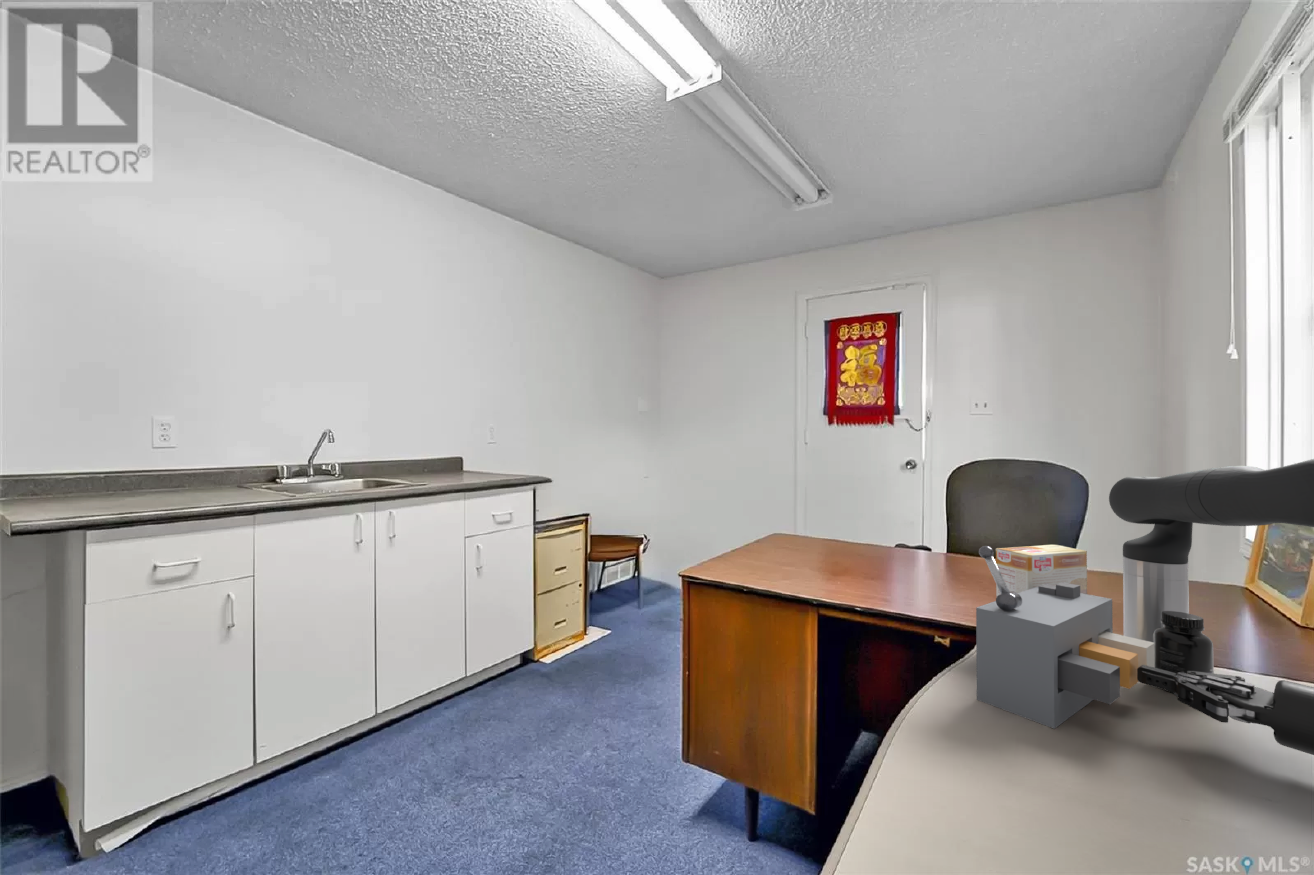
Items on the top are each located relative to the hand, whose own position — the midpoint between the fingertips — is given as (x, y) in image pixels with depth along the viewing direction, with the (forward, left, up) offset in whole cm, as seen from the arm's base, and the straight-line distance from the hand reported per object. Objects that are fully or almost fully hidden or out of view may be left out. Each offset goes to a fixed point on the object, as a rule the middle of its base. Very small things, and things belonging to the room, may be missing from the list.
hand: (1139, 672), depth 74 cm
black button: (+7, -6, -2) cm, 9 cm away
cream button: (-9, -3, -2) cm, 9 cm away
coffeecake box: (-22, -15, -7) cm, 27 cm away
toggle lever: (+7, -13, +7) cm, 17 cm away
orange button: (-1, -4, -2) cm, 5 cm away
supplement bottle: (-19, +4, -7) cm, 21 cm away
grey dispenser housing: (-2, -11, -7) cm, 13 cm away
